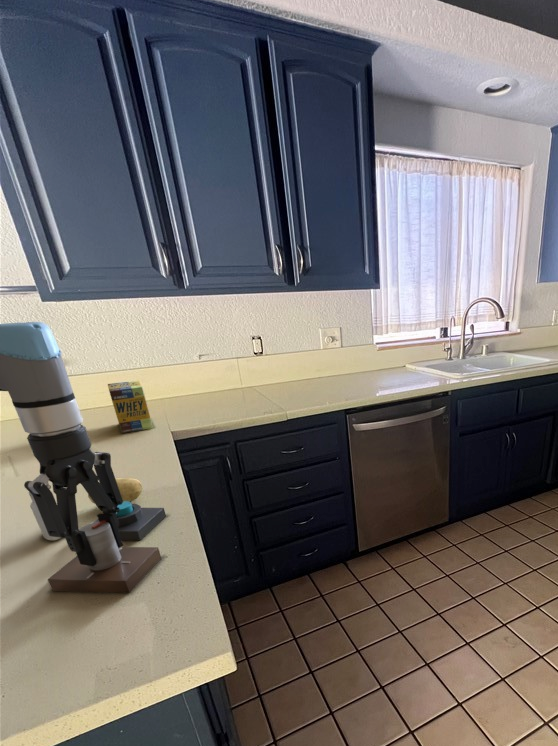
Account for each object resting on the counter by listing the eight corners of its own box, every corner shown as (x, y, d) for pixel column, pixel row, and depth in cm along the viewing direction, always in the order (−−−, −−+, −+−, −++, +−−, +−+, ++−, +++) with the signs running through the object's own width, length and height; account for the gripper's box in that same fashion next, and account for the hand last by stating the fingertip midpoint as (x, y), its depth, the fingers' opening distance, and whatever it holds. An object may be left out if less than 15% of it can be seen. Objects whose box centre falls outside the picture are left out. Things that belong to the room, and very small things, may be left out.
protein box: (121, 433, 153) (108, 391, 147) (119, 423, 165) (107, 383, 159) (153, 428, 158) (142, 386, 152) (149, 418, 170) (138, 379, 164)
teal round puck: (107, 517, 89) (105, 510, 88) (119, 508, 93) (117, 501, 92) (125, 517, 89) (123, 510, 88) (137, 508, 92) (135, 501, 92)
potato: (97, 501, 104) (88, 478, 101) (147, 493, 108) (140, 470, 105) (90, 514, 98) (81, 489, 96) (144, 504, 102) (136, 480, 99)
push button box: (85, 539, 88) (78, 523, 87) (116, 515, 97) (110, 500, 96) (140, 540, 87) (134, 523, 86) (166, 516, 96) (161, 500, 95)
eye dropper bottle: (68, 526, 93) (48, 477, 88) (65, 538, 89) (44, 487, 84) (44, 532, 92) (22, 481, 87) (40, 544, 87) (16, 492, 82)
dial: (104, 572, 73) (91, 536, 70) (82, 568, 75) (67, 533, 72) (127, 556, 78) (115, 521, 75) (106, 552, 79) (93, 518, 76)
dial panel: (52, 591, 73) (46, 578, 72) (92, 557, 82) (88, 545, 81) (129, 592, 72) (125, 580, 71) (161, 558, 81) (158, 546, 80)
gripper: (86, 412, 75) (125, 526, 84) (-26, 448, 59) (37, 583, 69) (121, 413, 73) (156, 530, 83) (15, 451, 57) (74, 590, 67)
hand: (102, 554), depth 76 cm, fingers closed on dial, 5 cm apart
